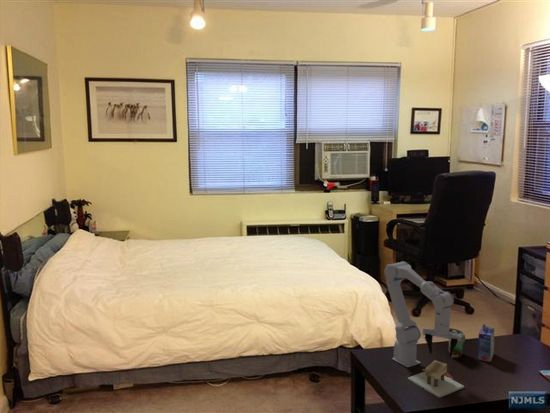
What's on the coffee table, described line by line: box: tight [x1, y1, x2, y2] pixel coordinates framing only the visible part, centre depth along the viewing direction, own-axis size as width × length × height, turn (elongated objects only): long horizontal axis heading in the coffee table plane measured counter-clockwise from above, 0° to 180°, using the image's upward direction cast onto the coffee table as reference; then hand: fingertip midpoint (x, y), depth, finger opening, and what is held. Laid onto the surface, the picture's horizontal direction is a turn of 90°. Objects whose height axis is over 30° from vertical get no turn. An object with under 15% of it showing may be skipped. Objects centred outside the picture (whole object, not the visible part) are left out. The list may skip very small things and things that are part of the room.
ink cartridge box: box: [477, 323, 495, 363], centre depth 210 cm, size 10×6×14 cm, turn 148°
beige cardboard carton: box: [424, 360, 448, 387], centre depth 188 cm, size 5×9×6 cm, turn 138°
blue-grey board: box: [407, 371, 465, 398], centre depth 188 cm, size 16×14×1 cm
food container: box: [448, 327, 466, 359], centre depth 213 cm, size 12×6×10 cm, turn 168°
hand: (440, 354), depth 191 cm, fingers open, 7 cm apart
